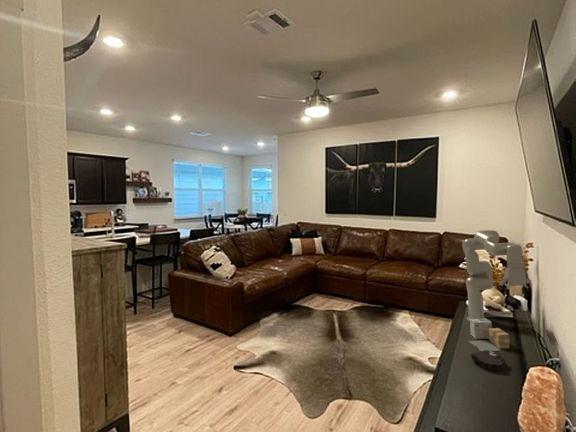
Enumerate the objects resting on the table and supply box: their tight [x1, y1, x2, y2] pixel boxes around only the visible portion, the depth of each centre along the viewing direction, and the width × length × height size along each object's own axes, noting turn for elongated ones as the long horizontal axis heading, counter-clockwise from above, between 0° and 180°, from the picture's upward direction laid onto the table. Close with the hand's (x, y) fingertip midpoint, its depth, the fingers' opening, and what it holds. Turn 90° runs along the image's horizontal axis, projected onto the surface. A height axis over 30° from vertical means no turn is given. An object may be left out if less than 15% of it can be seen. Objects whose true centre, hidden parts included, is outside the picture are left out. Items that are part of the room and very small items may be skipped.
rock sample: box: [470, 350, 507, 373], centre depth 173 cm, size 18×16×5 cm
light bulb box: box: [469, 318, 493, 340], centre depth 206 cm, size 11×7×11 cm, turn 84°
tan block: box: [488, 327, 511, 349], centre depth 194 cm, size 10×6×8 cm, turn 178°
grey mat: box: [468, 339, 501, 352], centre depth 194 cm, size 14×11×1 cm
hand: (516, 294), depth 188 cm, fingers open, 9 cm apart
